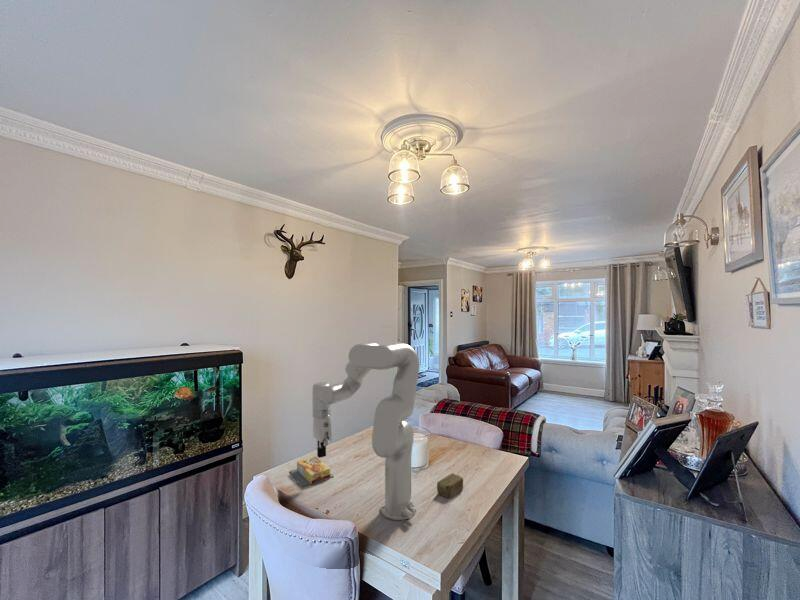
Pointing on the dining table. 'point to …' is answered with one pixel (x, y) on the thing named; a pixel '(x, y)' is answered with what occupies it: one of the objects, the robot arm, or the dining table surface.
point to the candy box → (313, 470)
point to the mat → (301, 479)
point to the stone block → (450, 485)
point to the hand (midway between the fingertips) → (321, 456)
